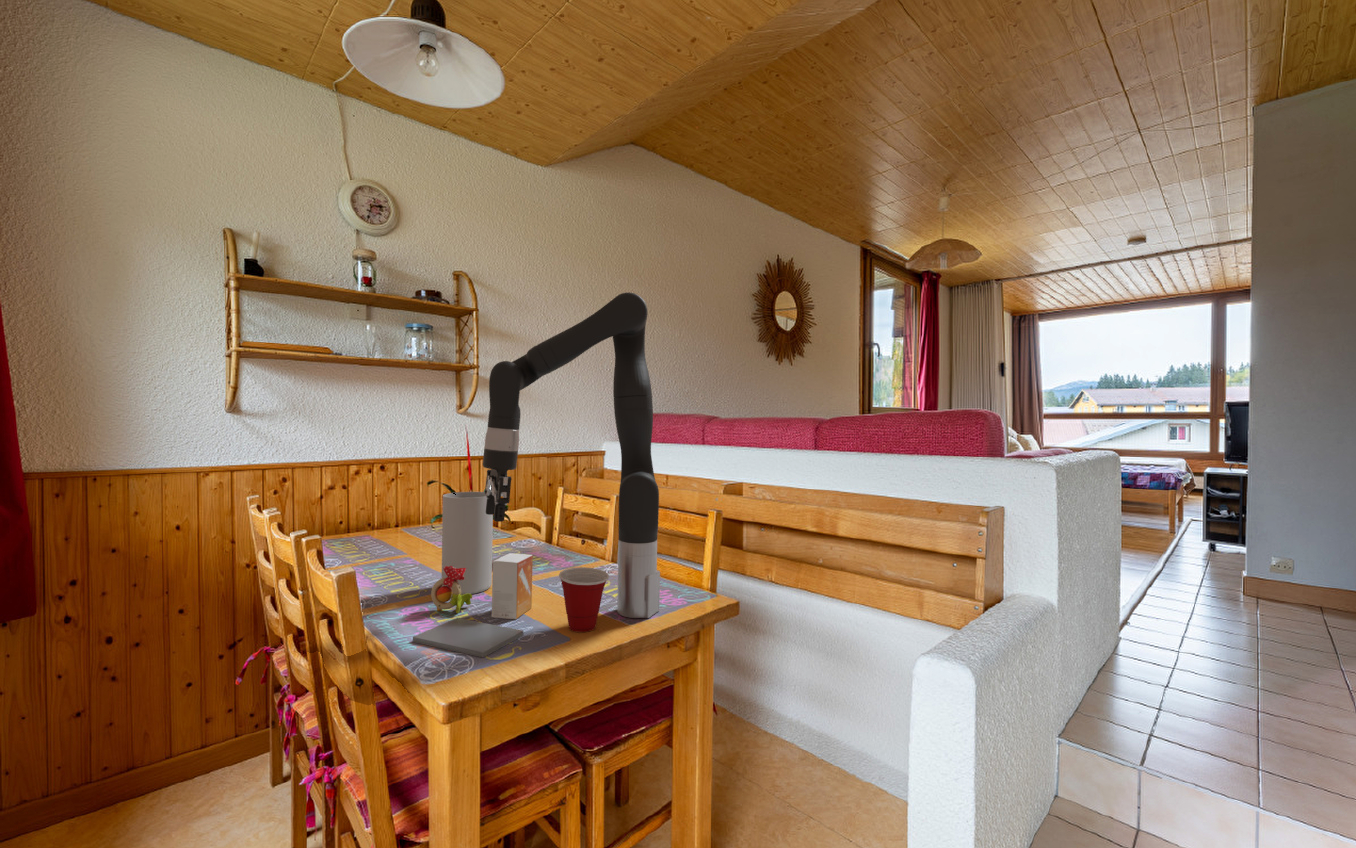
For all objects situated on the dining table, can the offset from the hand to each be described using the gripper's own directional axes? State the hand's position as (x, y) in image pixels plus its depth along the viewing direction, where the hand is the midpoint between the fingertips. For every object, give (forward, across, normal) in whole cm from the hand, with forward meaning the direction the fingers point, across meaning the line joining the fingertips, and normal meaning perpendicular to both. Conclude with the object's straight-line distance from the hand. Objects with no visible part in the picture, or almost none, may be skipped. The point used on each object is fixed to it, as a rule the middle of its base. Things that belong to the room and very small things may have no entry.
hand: (494, 517), depth 129 cm
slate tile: (+22, -13, +6) cm, 27 cm away
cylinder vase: (+24, +22, 0) cm, 33 cm away
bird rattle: (+24, +6, +6) cm, 25 cm away
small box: (+22, -2, -6) cm, 23 cm away
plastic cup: (+21, -18, -17) cm, 33 cm away
